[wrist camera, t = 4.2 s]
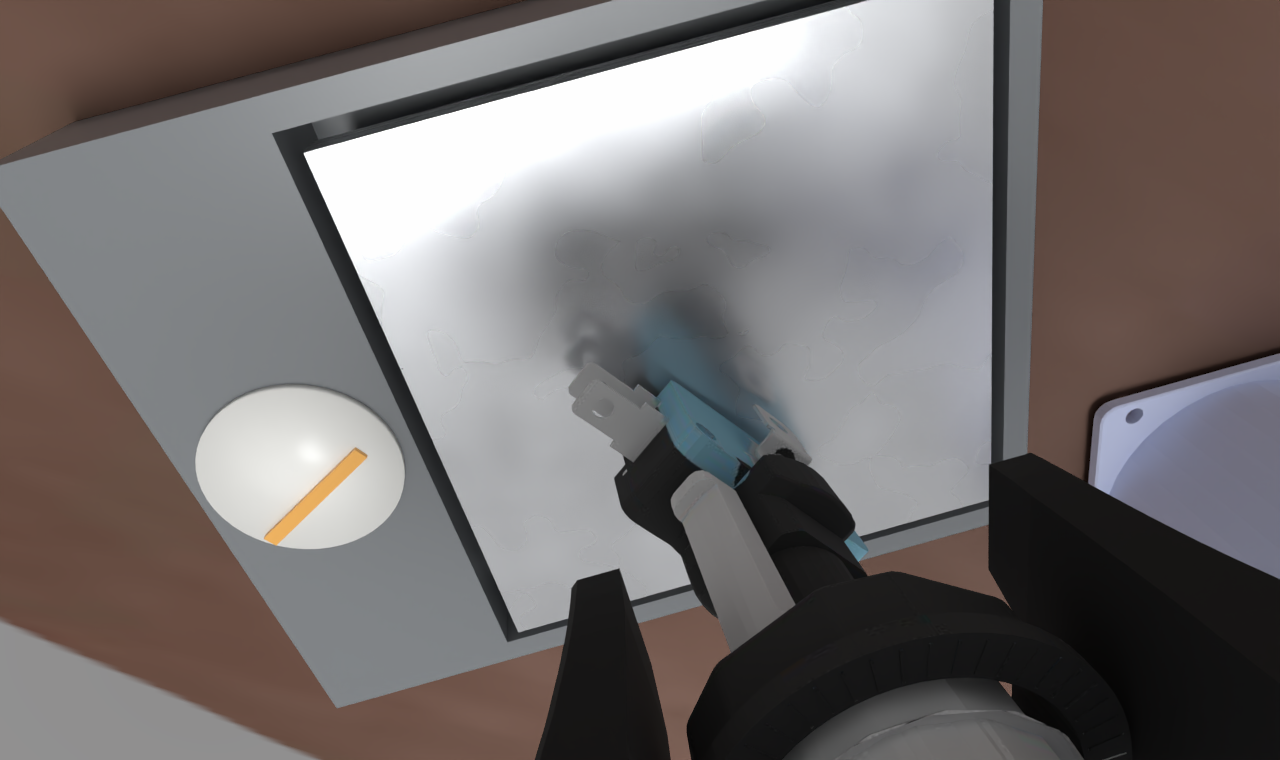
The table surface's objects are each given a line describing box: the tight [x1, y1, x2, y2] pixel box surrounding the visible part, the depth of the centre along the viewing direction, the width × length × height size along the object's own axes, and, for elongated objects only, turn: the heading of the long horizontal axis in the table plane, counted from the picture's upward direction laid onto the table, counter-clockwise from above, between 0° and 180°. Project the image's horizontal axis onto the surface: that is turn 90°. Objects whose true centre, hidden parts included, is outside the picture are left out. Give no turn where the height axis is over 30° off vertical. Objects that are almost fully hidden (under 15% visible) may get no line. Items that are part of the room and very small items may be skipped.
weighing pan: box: [304, 0, 994, 632], centre depth 17 cm, size 12×12×1 cm
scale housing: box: [0, 0, 1043, 708], centre depth 18 cm, size 18×14×4 cm
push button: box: [568, 362, 1132, 760], centre depth 13 cm, size 7×5×10 cm
